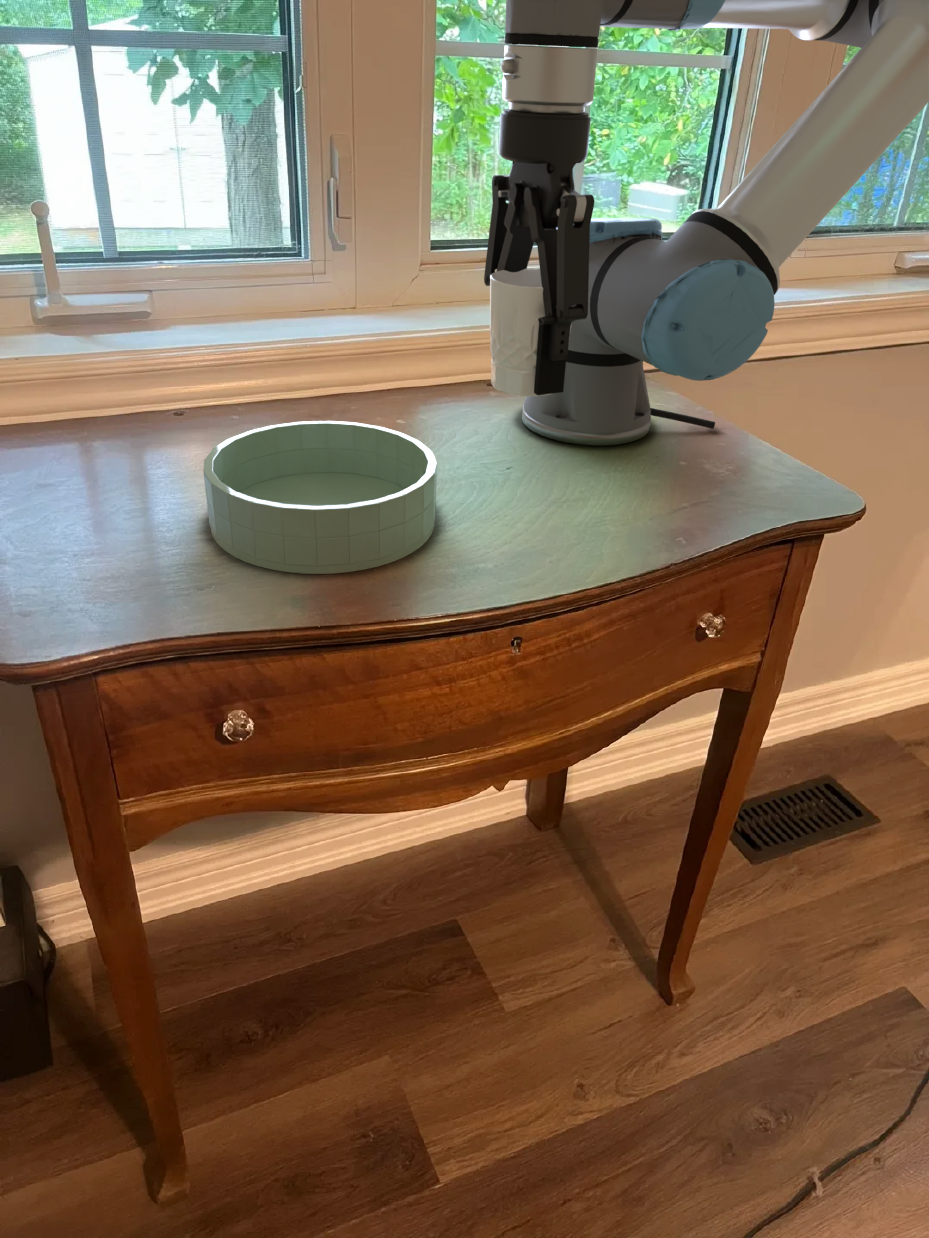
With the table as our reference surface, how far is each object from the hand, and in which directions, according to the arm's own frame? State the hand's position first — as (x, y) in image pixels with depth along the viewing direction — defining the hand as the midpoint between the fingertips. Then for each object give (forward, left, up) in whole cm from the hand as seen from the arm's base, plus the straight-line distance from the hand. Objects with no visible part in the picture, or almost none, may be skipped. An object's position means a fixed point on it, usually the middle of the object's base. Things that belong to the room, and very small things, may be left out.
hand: (526, 379), depth 90 cm
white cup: (0, 0, -1) cm, 1 cm away
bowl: (+20, +5, -11) cm, 24 cm away
